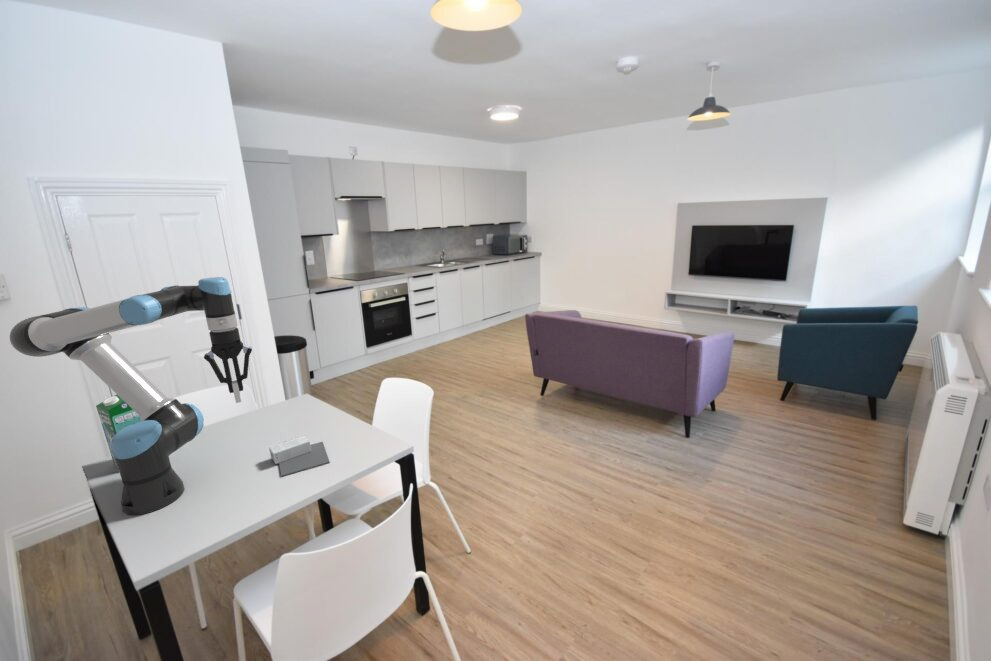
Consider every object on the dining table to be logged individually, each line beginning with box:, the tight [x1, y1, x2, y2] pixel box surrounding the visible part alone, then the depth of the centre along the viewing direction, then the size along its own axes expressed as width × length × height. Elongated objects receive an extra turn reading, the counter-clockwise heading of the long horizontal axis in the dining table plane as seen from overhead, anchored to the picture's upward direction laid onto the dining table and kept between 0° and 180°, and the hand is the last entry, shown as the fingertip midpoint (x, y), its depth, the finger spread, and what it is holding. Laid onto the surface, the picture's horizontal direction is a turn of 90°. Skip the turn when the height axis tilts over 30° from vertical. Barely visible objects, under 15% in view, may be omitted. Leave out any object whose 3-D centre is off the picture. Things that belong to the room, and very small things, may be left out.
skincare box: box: [268, 435, 311, 465], centre depth 152 cm, size 6×4×12 cm
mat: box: [278, 441, 331, 478], centre depth 150 cm, size 15×16×1 cm
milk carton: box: [95, 394, 140, 467], centre depth 150 cm, size 9×9×25 cm
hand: (238, 400), depth 137 cm, fingers closed
